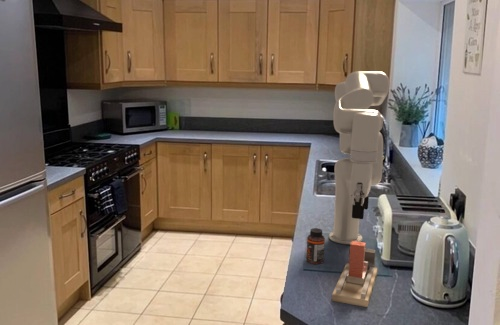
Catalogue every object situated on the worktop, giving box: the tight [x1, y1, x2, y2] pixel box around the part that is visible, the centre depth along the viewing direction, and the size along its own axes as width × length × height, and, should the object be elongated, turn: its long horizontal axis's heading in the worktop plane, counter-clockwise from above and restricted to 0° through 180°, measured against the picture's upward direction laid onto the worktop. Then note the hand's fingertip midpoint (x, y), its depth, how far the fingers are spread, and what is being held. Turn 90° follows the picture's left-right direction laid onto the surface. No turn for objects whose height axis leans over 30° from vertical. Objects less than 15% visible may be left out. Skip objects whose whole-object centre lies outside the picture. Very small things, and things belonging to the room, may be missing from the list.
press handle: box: [347, 241, 368, 285], centre depth 148 cm, size 8×5×12 cm, turn 160°
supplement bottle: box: [305, 227, 326, 265], centre depth 166 cm, size 6×6×11 cm
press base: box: [331, 247, 378, 308], centre depth 148 cm, size 24×10×8 cm, turn 160°
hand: (360, 213), depth 143 cm, fingers open, 9 cm apart
